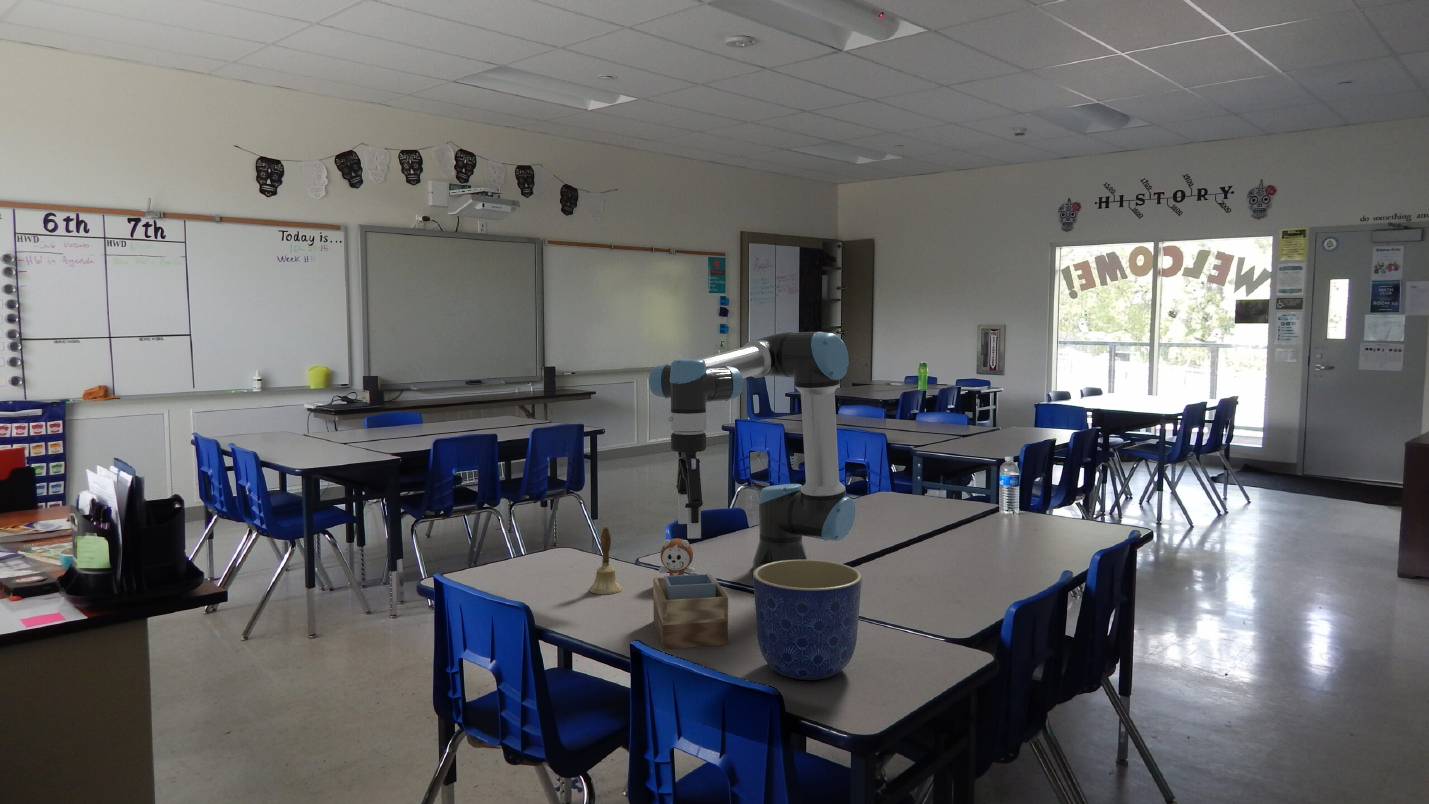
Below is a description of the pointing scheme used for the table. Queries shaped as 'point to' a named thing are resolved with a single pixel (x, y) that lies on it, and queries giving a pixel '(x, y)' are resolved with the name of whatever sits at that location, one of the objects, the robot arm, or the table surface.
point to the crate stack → (690, 618)
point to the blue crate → (689, 586)
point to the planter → (807, 616)
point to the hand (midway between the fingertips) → (689, 530)
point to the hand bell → (605, 570)
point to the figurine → (676, 557)
